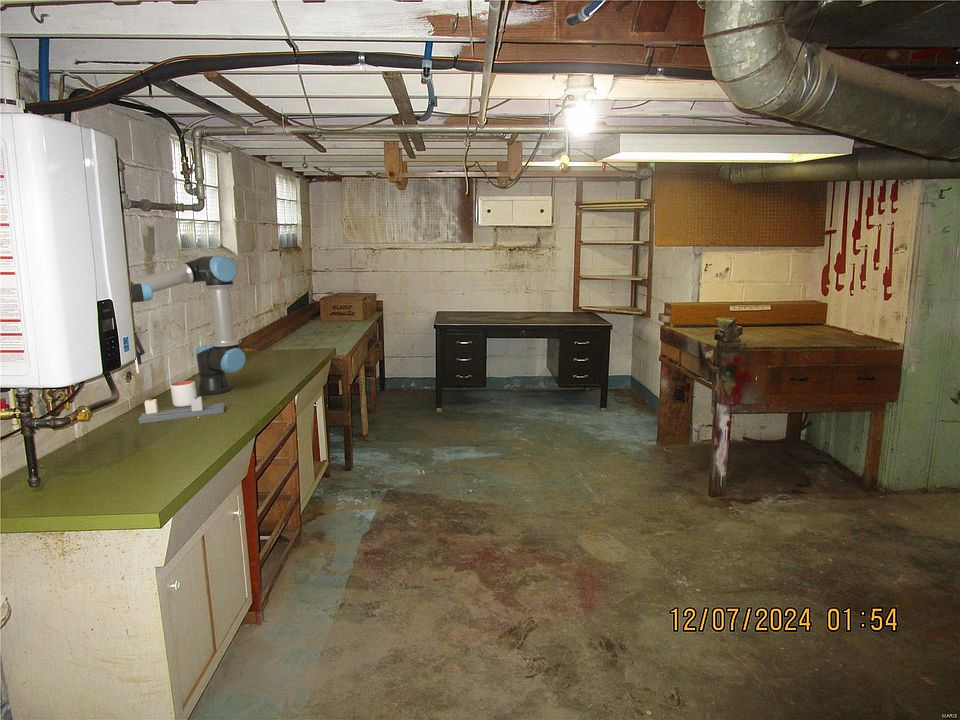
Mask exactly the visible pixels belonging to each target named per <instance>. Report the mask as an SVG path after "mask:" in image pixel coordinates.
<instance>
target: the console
mask: <svg viewBox="0 0 960 720" xmlns="http://www.w3.org/2000/svg"><path fill="white" fill-rule="evenodd" d="M225 408H226V406H225V402H220V403H212V404H205V405H204V404H203V410H200V411H193V412H192V407H191V406H187V407H178V408H173V409H172V408H171V409H164V410H158V412H157V413H152V414H146V412H142V413H141V414H140V415H139V418H138V423H139V425H140V424H148V423H155V422H161V421H170V420H176V419H178V420H179V419H185V418H193V417H199V416H207V415H216V414H217V415H218V414H223V413H225Z"/></svg>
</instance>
